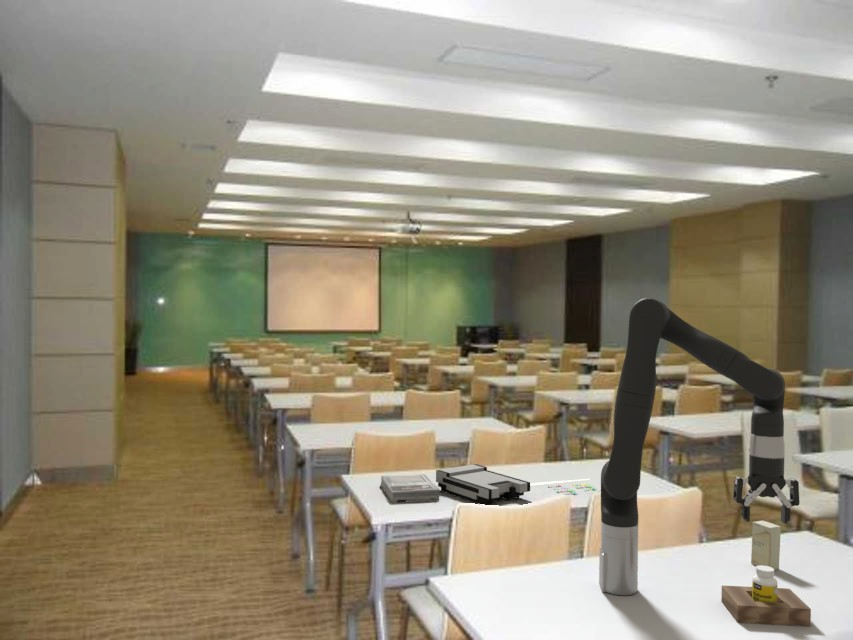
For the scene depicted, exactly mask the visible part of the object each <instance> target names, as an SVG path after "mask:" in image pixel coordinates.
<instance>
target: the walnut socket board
mask: <svg viewBox="0 0 853 640" xmlns="http://www.w3.org/2000/svg"><path fill="white" fill-rule="evenodd" d="M720 601H721V603H722V604H723V605H724V607H725V608H726V610H727V611H728V612H729V613H730V615H731V617H733V619H734V620H735V621H736V622H737V623H738V624H753V625H754V624H755V625H756V624H757V625H759V624H760V625H774V626H775V625H777V626H778V625H779V626H793V625H795V627H796V626H797V625H803V626H802V627H811V626H812V625H811V624H812V623H811V621H812V620H811V618H812V616H811V615H812V614H811V611H812V609H811V608H810V606H808V604H806V603H805V602H804V601H803V600H802V599H801V597H799V596H798V595H797V594H796V593H794V591H792V590H791V588H782V587H781V588H780V587H777V603H774V602H755V601H754V600H753V599H752V586H742V585H741V586H737V585H721V599H720ZM805 625H806V626H805ZM797 627H798V626H797Z"/></svg>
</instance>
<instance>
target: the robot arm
mask: <svg viewBox="0 0 853 640" xmlns="http://www.w3.org/2000/svg"><path fill="white" fill-rule="evenodd" d="M628 315H629V316H628V333H627V344H626V345H627V346H626V352H625V357H624V360H623V364H622V368H621V373H620V375H619V376H620V377H619V381H618V386H617V391H616V396H615V401H614V402H615V404H614V409H613V410H614V414H613V444H612V448H611V452H610V456H609V460H607V462H605V463H604V465H603V467H602V469H601V471H600V492H601V493H600V515H601V516H600V517H601V519H600V520H601V522H600V525H601V526H600V527H601V529H600V536H601V537H600V547H599V555H598V556H599V557H598V559H599V560H598V561H599V565H598V569H599V572H598V573H599V574H598V576H599V577H598V584H599V587H600V590H601V591H602V593H608V594H612V595H616V596H631V595H634V594H636V593H637V592H638V586H639V584H638V583H639V582H638V577H639V576H638V575H639V574H638V572H639V570H638V569H639V566H638V565H639V509H638V508H639V507H638V491H639V489H640V485H641V476H642V474H641V472H642V471H641V470H642V460H643V450H644V444H645V441H646V437H647V434H648V430H649V425H650V422H651V418H652V417H651V416H652V413H653V409H654V402H655V397H656V389H657V367H656V365H657V361H656V360H657V353H658V347H659V343H660V340H661V339H662V340H664V341H667V342H669V343H671V344H673V345H675V346H677V347H678V348H680V349H682V350H683V351H685V352H686V353H687V354H689V355H690V356H692V357H693V358H695V359H696V360H698V361H699V362H700V363H701V364H703V365H704V366H706V367H708V368H710V369H711V370H713V371H714V372H717V373H718V374H720V375H722V376H723V377H725V378H727V379H729V380H731V381H733V382H734V383H735V384H737V385H738V386H740V387H742V388H743V389H744V390H745V391H747V392H749V393H750V394H752V395H753V396H752V397H753V399H752V403H753V409H752V413H751V416H750V417H751V418H750V419H751V420H750V437H749V447H748V452H749V456H748V457H749V458H748V459H749V460H748V461H749V463H748V476H747V477H740V476H739V475H736V476H735V477H734V483H733V492H732V493H733V495H732V499H733V501H735V502H736V503H737V504H740V505H741V507H740V508H741V509H740V511H741V512H740V513H741V515H740V516H741V518H742V519H743V520H744V521H745V522H746V523H749V522H750V521H751V506H750V505H751V503H753V501H755V500H757V498H758V497H760V498H766V497H769V498H773V499H774V498H775V497H776V498H777V499H778V500H779V501H780V503H781V504H782V505H781V506H780V521H781V523H782V524H786V525H787V524H789V523H788V522H790V520H791V508H792V507H796V506H799V505H800V489H799V488H800V486H799V484H800V483H799V481H798V480H797V479H795V478H793V477H791V478H789V479H787V478H785V452H786V451H785V450H786V449H785V445H786V444H785V437H784V435H785V428H784V427H785V419H784V406H785V405H784V403H785V395H786V393H785V391H786V381H785V378H784V377H783V374H781V372H779V371H778V370H776V369H772V368H768V367H766V366H763V365H761V364H760V363H758V362H756V361H754V360H752V359H751V358H750V357H748V355H746V354H745V353H743V352H742V351H740V350H738V349H736V348H735V347H733V346H731V345H729V344H728V343H726V342H723V341H722V340H720V339H718V338H716V337H714V336H712V335H710V334H708V333H706V332H704V331H702V330H701V329H698V328H696V327H695V326H693V325H691V324H690V323H688V322H686V321H685V320H683V319H682V318H681V317H680V316H678V315H677V314H676V313H675V312H673V311H672V310H671V309H670V308H669V307H667V305H666V304H665V303H664V302H662V301H660V300H658V299H655V298H654V297H653V298H652V297H645V298H641V299H639V300H638V301H636V302H635V303H634V304H633V306H632V307H631V309H630V312H629V314H628ZM746 484H748V486H749V487H750V488H748V490H747V491H746V492H745V494H744V496H743V488H744V487H745V486H746ZM785 487H787V488H788V489H789V499H788V498H787V496H786V495H785V494H784V493H783V491H782V490H783V489H784V488H785Z"/></svg>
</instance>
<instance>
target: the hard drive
mask: <svg viewBox="0 0 853 640" xmlns="http://www.w3.org/2000/svg"><path fill="white" fill-rule="evenodd" d="M380 477H381V480H380V487H381V488H382V487H383V488H382V490H383V489H384V490H383V491H384V493H385V492H386V493H385V494H386V496H387V495H388V496H387V497H388V499H389V498H390V499H389V501H390V500H391V501H392V502H391V501H390V502H391V503H393V502H397V503H407V502H406V501H417V502H429V500H437V501H440V487H439V486H438V485H436V484H435V483H434V482H433V481H432V480H431V479H430V477H429V476H428V475H427V474H425V473H414V474H413V473H411V474H410V473H409V474H391V475H390V474H386V475H385V474H384V475H381V476H380Z"/></svg>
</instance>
